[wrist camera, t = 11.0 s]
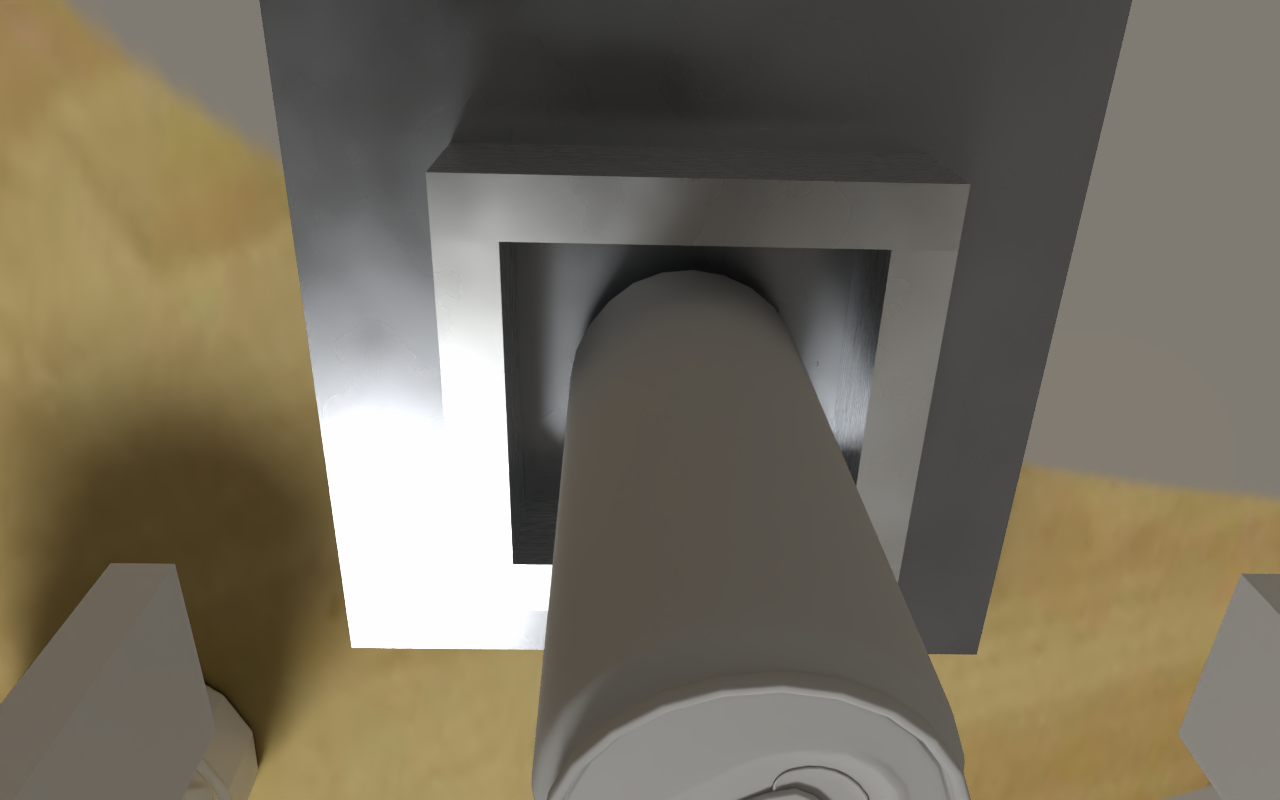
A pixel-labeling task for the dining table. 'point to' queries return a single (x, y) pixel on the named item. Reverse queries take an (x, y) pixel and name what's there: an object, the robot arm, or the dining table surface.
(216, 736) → the white cup
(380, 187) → the gray square base
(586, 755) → the beverage can
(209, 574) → the dining table surface
